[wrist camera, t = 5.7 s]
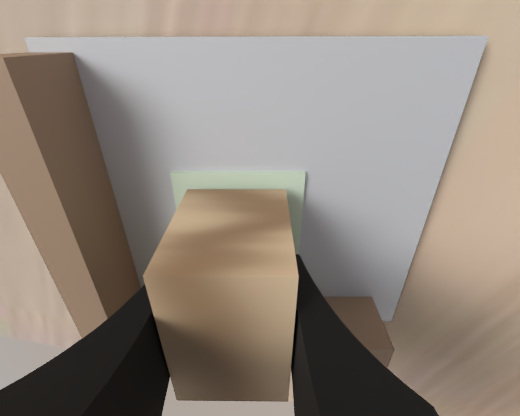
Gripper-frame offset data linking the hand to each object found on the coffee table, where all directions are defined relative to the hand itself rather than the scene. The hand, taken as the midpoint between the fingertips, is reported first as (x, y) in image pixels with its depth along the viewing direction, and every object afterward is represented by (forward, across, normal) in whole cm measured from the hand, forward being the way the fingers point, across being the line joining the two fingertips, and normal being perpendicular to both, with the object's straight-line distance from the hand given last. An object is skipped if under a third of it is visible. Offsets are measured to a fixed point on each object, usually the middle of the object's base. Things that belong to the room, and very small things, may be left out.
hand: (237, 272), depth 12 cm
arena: (+3, 0, -1) cm, 3 cm away
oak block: (+2, 0, 0) cm, 2 cm away
